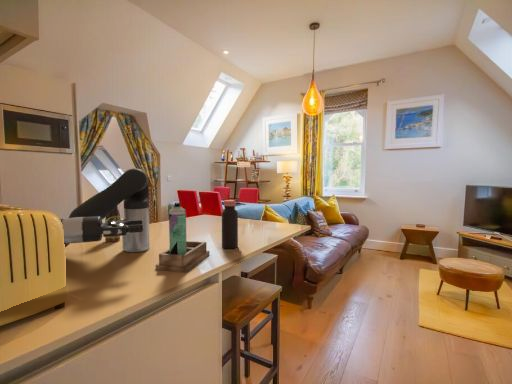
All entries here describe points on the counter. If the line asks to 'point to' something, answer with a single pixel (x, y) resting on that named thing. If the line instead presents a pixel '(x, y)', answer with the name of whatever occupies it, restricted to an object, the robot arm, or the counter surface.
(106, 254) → the counter surface
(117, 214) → the sauce bottle
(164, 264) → the rack
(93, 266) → the counter surface
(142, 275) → the counter surface
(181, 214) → the spray can
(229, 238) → the vinegar
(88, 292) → the counter surface
